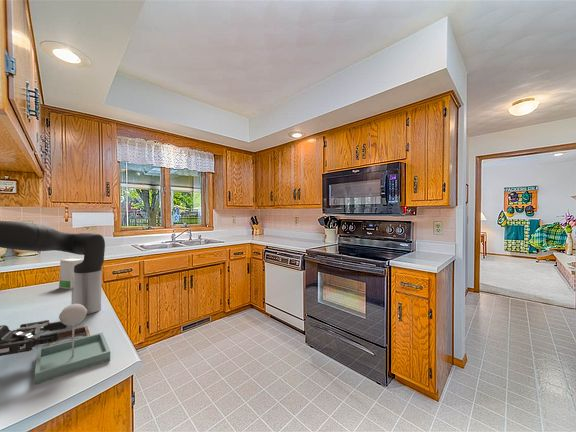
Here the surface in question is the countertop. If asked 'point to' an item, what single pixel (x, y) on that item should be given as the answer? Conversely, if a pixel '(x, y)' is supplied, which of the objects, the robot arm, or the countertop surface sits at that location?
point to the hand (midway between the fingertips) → (62, 330)
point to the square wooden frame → (76, 332)
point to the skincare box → (67, 272)
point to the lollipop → (73, 317)
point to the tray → (70, 357)
